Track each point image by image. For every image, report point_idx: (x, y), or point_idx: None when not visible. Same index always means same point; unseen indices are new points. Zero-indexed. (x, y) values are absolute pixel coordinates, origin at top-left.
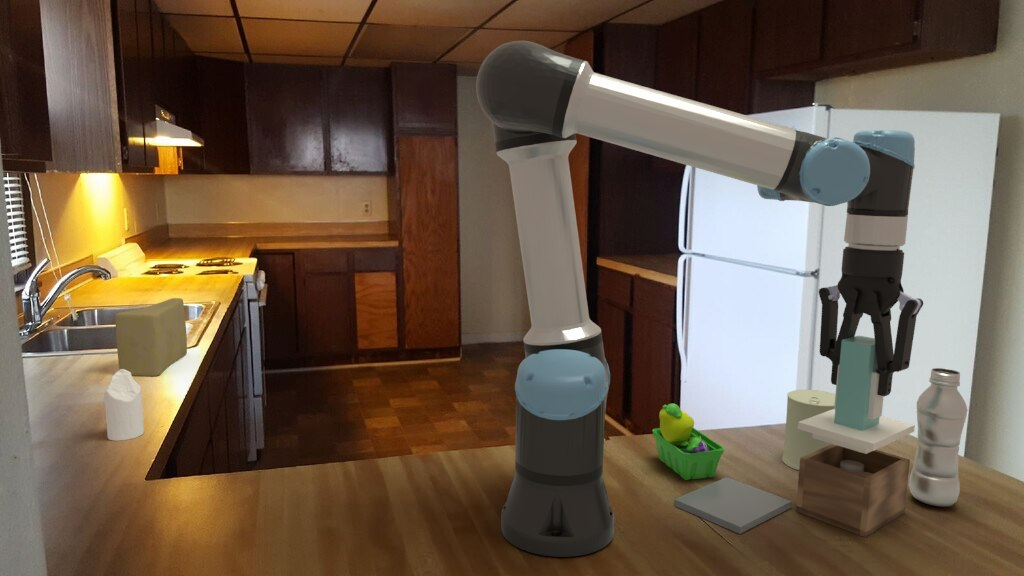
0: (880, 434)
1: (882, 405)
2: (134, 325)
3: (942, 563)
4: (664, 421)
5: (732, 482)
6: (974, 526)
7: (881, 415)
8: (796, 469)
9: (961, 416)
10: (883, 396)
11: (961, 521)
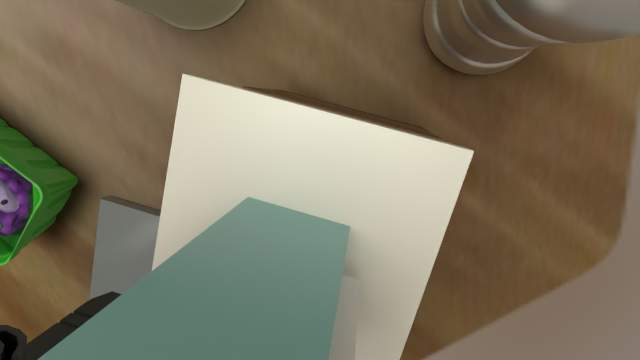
0: (374, 343)
1: (357, 303)
2: None
3: (496, 306)
4: None
5: (119, 217)
6: (557, 108)
7: (359, 281)
8: (180, 27)
9: None
10: (356, 329)
11: (532, 97)
